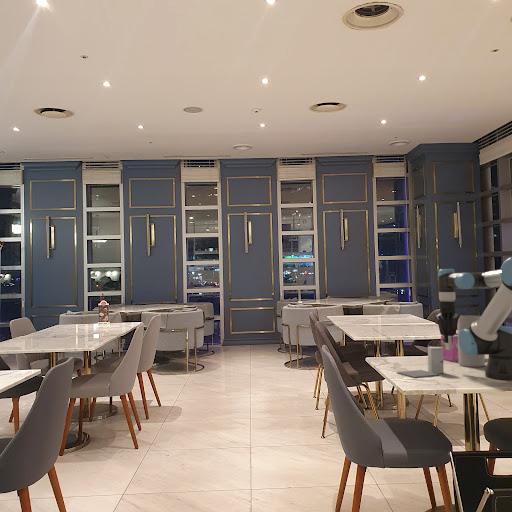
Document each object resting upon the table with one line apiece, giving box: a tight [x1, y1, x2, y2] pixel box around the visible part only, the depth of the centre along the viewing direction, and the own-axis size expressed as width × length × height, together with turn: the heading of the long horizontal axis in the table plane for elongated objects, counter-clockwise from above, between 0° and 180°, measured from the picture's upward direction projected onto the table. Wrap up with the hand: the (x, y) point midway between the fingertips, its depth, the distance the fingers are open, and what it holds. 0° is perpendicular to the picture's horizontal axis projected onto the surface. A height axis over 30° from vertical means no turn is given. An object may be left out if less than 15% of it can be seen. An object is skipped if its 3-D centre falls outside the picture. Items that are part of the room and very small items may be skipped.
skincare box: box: [427, 346, 444, 374], centre depth 247 cm, size 6×4×12 cm
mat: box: [396, 369, 440, 379], centre depth 243 cm, size 13×14×1 cm
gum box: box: [440, 332, 459, 362], centre depth 288 cm, size 24×8×14 cm, turn 126°
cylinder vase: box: [457, 315, 486, 368], centre depth 266 cm, size 12×12×25 cm
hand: (448, 349), depth 250 cm, fingers closed
